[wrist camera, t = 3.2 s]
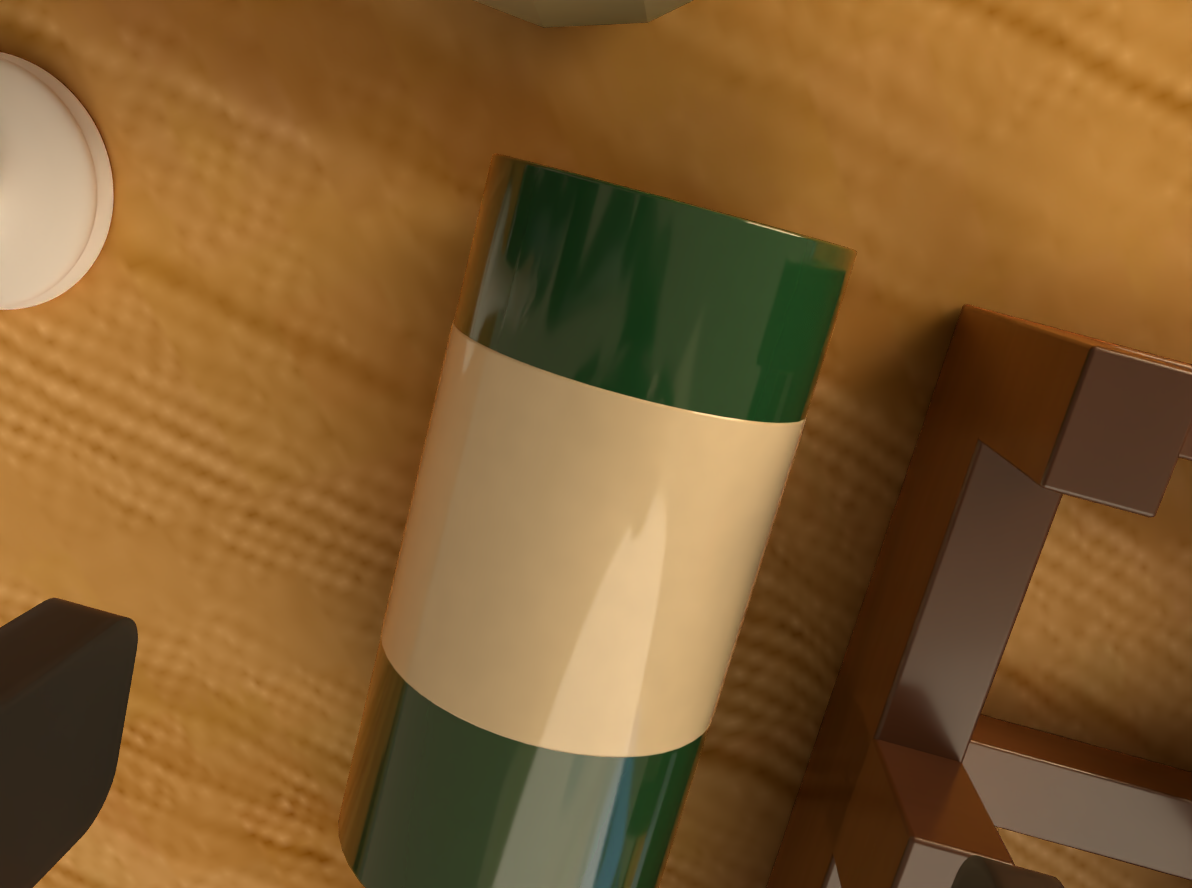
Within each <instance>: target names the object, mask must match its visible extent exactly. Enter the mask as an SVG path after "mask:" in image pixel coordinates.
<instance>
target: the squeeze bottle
mask: <svg viewBox="0 0 1192 888" xmlns="http://www.w3.org/2000/svg"><path fill="white" fill-rule="evenodd" d="M474 1H476V2H479V3H481V4H484V5H487V6H489V7H492V8H494V9H497V10H499V11H502V12H505V13H507V14H510V15H512V16H515V17H518V18H520V19H523V20H525V21H528V22H530V23H533V24H536V25H538V26H541V27H543V28H544V27H565V26H586V25H607V24H628V23H648V22H650V21H652V20H654V19H656V18H658V17H660V16H662V15H664V14H666V13H668V12H670V11H672V10H674V9H676V8H678V7H681V6H683V5H685V4H687V3H689V2H691V1H693V0H474Z"/></svg>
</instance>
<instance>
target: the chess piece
mask: <svg viewBox="0 0 1192 888" xmlns="http://www.w3.org/2000/svg"><path fill="white" fill-rule="evenodd" d="M113 198H114V192H113V178H112V171H111V166H110V162H109V158H108V154H107V151H106V148H105V145H104V143H103V140H102V138H101V136H100V133H99V131H98V129H97V127H96V125H95V124H94V122H93V120H92V118H91V117H90V115H89V114H88V112H87V111H86V109H85V108H84V107H83V105H82V104H81V103H80V101H79V100H78V99H77V98H76V97H75V96H74V95H73V93H72V92H71V91H70V90H69V89H68V88H67V87H65V86H64V85H63V84H62V83H61V82H60V81H59V80H57V79H56V78H55V77H54V76H52V75H51V74H49V73H48V72H47V71H45V70H43V69H42V68H40V67H38V66H37V65H35V64H33V63H31V62H29V61H27V60H24V59H22V58H19V57H16V56H13V55H10V54H7V53H2V52H0V309H1V310H11V309H21V308H27V307H32V306H36V305H39V304H42V303H45V302H47V301H49V300H52V299H54V298H56V297H58V296H59V295H61V294H63V293H64V292H66V291H67V290H68V289H70V288H71V287H72V286H74V285H75V284H76V283H77V282H78V281H79V280H80V279H81V278H82V277H83V276H84V275H85V274H86V273H87V271H88V270H89V269H90V268H91V266H92V265H93V263H94V262H95V260H96V259H97V257H98V255H99V253H100V251H101V249H102V247H103V245H104V243H105V240H106V237H107V234H108V231H109V228H110V223H111V218H112V212H113Z"/></svg>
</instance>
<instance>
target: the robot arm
mask: <svg viewBox="0 0 1192 888" xmlns="http://www.w3.org/2000/svg"><path fill="white" fill-rule="evenodd" d="M137 643H138V633H137V627H136V624H135V622H134V621H133V620H132V619H130V618H127V617H123V616H120V615H116V614H112V613H109V612H105V611H102V610H98V609H94V608H91V607H87V606H84V605H80V604H76V603H73V602H69V601H66V600H62V599H58V598H51V599H48V600H46V601H44V602H42V603H40V604H39V605H37V606H35V607H34V608H32V609H30V610H29V611H27V612H25V613H24V614H22V615H20V616H19V617H17V618H15V619H14V620H12V621H10V622H9V623H7V624H6V625H4V626H2V627H1V628H0V888H33V887H34V886H35V885H36V884H37V883H38V882H39V881H40V879H41V878H42V877H43V876H44V875H45V874H46V873H47V872H48V871H49V870H50V869H51V868H52V867H53V866H54V865H55V864H56V863H57V862H58V861H59V860H60V859H61V858H62V857H63V856H64V855H65V854H66V853H67V852H68V851H69V850H70V849H71V847H72V846H73V845H74V844H75V843H76V842H77V841H78V840H79V839H80V838H81V837H82V836H83V835H84V834H85V833H86V831H87V830H88V829H89V827H90V826H91V825H92V823H93V822H94V820H95V818H96V817H97V815H98V813H99V811H100V810H101V808H102V806H103V804H104V802H105V800H106V797H107V795H108V792H109V790H110V787H111V784H112V782H113V778H114V775H115V771H116V767H117V762H118V756H119V750H120V744H121V738H122V733H123V727H124V721H125V715H126V709H127V703H128V698H129V692H130V686H131V680H132V674H133V668H134V663H135V657H136V651H137ZM951 888H1064V886H1063V885H1062V883H1061V882H1060V881H1059V880H1058V879H1057V878H1055V877H1053V876H1050V875H1046V874H1043V873H1039V872H1035V871H1032V870H1028V869H1025V868H1021V867H1017V866H1014V865H1010V864H1007V863H1003V862H999V861H996V860H992V859H989V858H985V857H981V856H978V855H972V856H970V857H968V858H967V859H966V860H965V861H964V862H963V864H962V865H961V866H960V868H959V870H958V872H957V874H956V876H955V879H954V881H953V884H952V886H951Z"/></svg>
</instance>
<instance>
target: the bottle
mask: <svg viewBox="0 0 1192 888" xmlns="http://www.w3.org/2000/svg"><path fill="white" fill-rule="evenodd" d="M856 256H857V251H856V250H854V249H851V248H848V247H845V246H841V245H838V244H834V243H831V242H827V241H824V240H820V239H817V238H813V237H809V236H806V235H802V234H799V233H795V232H791V231H788V230H784V229H780V228H777V227H773V226H770V225H766V224H762V223H759V222H755V221H751V220H748V219H744V218H740V217H737V216H733V215H729V214H725V213H722V212H718V211H714V210H711V209H707V208H703V207H700V206H696V205H692V204H688V203H685V202H681V201H677V200H674V199H670V198H666V197H662V196H659V195H655V194H651V193H647V192H644V191H640V190H636V189H632V188H629V187H625V186H621V185H617V184H614V183H610V182H606V181H602V180H598V179H595V178H591V177H587V176H583V175H580V174H576V173H572V172H568V171H564V170H560V169H557V168H553V167H549V166H545V165H541V164H537V163H533V162H530V161H526V160H522V159H518V158H514V157H510V156H506V155H502V154H493V155H492V158H491V162H490V167H489V171H488V175H487V180H486V184H485V188H484V193H483V197H482V201H481V206H480V210H479V214H478V219H477V223H476V227H475V232H474V236H473V240H472V244H471V249H470V253H469V257H468V262H467V266H466V270H465V275H464V279H463V283H462V288H461V292H460V296H459V301H458V305H457V309H456V314H455V318H454V321H453V322H452V325H451V330H450V334H449V338H448V343H447V347H446V351H445V356H444V360H443V364H442V369H441V373H440V377H439V382H438V386H437V390H436V395H435V399H434V403H433V408H432V412H431V416H430V421H429V425H428V429H427V434H426V438H425V442H424V446H423V451H422V455H421V459H420V464H419V468H418V472H417V477H416V481H415V485H414V490H413V494H412V498H411V503H410V507H409V511H408V516H407V520H406V524H405V529H404V533H403V537H402V542H401V546H400V550H399V555H398V559H397V563H396V568H395V572H394V576H393V581H392V585H391V589H390V594H389V598H388V602H387V607H386V611H385V615H384V620H383V624H382V629H381V638H380V642H379V646H378V651H377V655H376V659H375V664H374V668H373V672H372V676H371V681H370V685H369V689H368V694H367V698H366V702H365V707H364V711H363V715H362V720H361V724H360V728H359V733H358V737H357V741H356V746H355V750H354V754H353V759H352V763H351V767H350V772H349V776H348V780H347V784H346V789H345V793H344V797H343V802H342V806H341V811H340V816H339V821H338V827H339V838H340V843H341V847H342V851H343V853H344V856H345V858H346V860H347V862H348V865H349V867H350V868H351V870H352V871H353V873H354V874H355V876H356V877H357V879H358V880H359V881H360V883H361V884H362V885H363V886H364V887H365V888H659V886H660V883H661V880H662V877H663V874H664V870H665V867H666V864H667V861H668V858H669V854H670V851H671V848H672V845H673V842H674V838H675V835H676V832H677V829H678V826H679V822H680V819H681V816H682V813H683V810H684V806H685V803H686V800H687V797H688V794H689V790H690V787H691V784H692V781H693V778H694V774H695V771H696V768H697V765H698V762H699V758H700V755H701V752H702V749H703V746H704V742H705V739H706V736H707V733H708V730H709V726H710V725H711V722H712V720H713V717H714V714H715V711H716V708H717V705H718V702H719V698H720V695H721V692H722V689H723V686H724V682H725V679H726V676H727V673H728V670H729V666H730V663H731V660H732V657H733V654H734V650H735V647H736V644H737V641H738V638H739V634H740V631H741V628H742V625H743V622H744V618H745V615H746V612H747V609H748V606H749V602H750V599H751V596H752V593H753V590H754V586H755V583H756V580H757V577H758V574H759V570H760V567H761V564H762V561H763V558H764V554H765V551H766V548H767V545H768V542H769V538H770V535H771V532H772V529H773V526H774V522H775V519H776V516H777V513H778V510H779V507H780V503H781V500H782V497H783V494H784V491H785V487H786V484H787V481H788V478H789V475H790V471H791V468H792V465H793V462H794V459H795V455H796V452H797V449H798V446H799V443H800V439H801V436H802V433H803V430H804V427H805V423H806V420H807V413H808V410H809V406H810V403H811V400H812V397H813V394H814V390H815V387H816V384H817V381H818V378H819V374H820V371H821V368H822V365H823V362H824V358H825V355H826V352H827V349H828V346H829V342H830V339H831V336H832V333H833V330H834V326H835V323H836V320H837V317H838V314H839V310H840V307H841V304H842V301H843V298H844V294H845V291H846V288H847V285H848V282H849V278H850V275H851V272H852V269H853V266H854V262H855V259H856Z"/></svg>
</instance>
